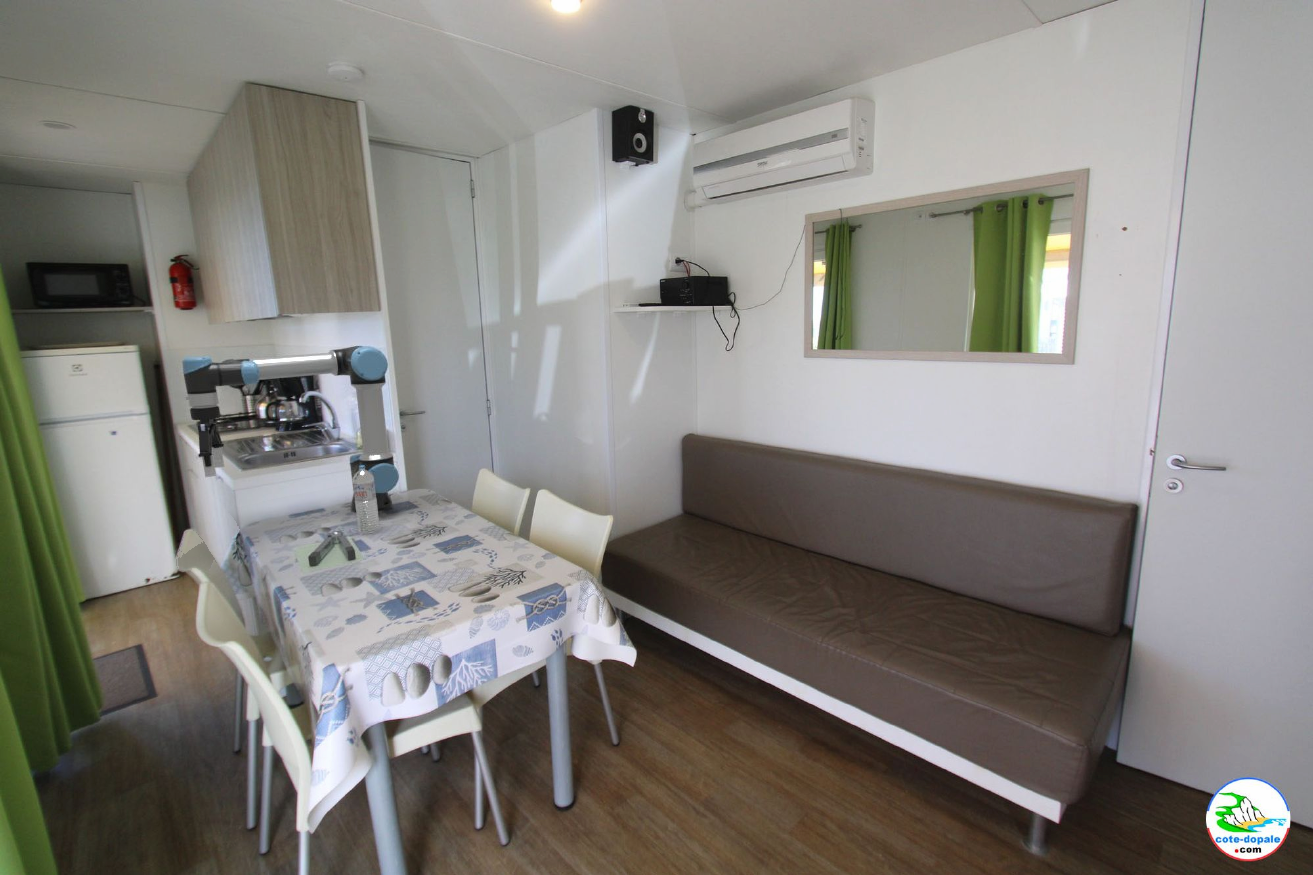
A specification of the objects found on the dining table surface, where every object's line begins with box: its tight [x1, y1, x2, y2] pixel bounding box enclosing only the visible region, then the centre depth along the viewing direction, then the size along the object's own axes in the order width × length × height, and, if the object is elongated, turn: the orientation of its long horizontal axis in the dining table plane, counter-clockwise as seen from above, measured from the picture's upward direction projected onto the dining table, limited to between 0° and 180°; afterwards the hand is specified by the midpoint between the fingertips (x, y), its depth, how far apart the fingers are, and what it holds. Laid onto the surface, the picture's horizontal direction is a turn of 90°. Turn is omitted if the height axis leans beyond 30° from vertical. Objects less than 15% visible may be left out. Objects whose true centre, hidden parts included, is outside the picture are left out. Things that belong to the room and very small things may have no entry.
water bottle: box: [351, 465, 381, 536], centre depth 212 cm, size 7×7×25 cm
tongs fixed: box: [326, 529, 356, 560], centre depth 197 cm, size 5×24×4 cm, turn 36°
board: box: [292, 535, 366, 574], centre depth 195 cm, size 17×26×1 cm, turn 36°
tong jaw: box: [308, 536, 335, 566], centre depth 193 cm, size 2×17×3 cm, turn 11°
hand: (215, 471), depth 197 cm, fingers open, 13 cm apart
